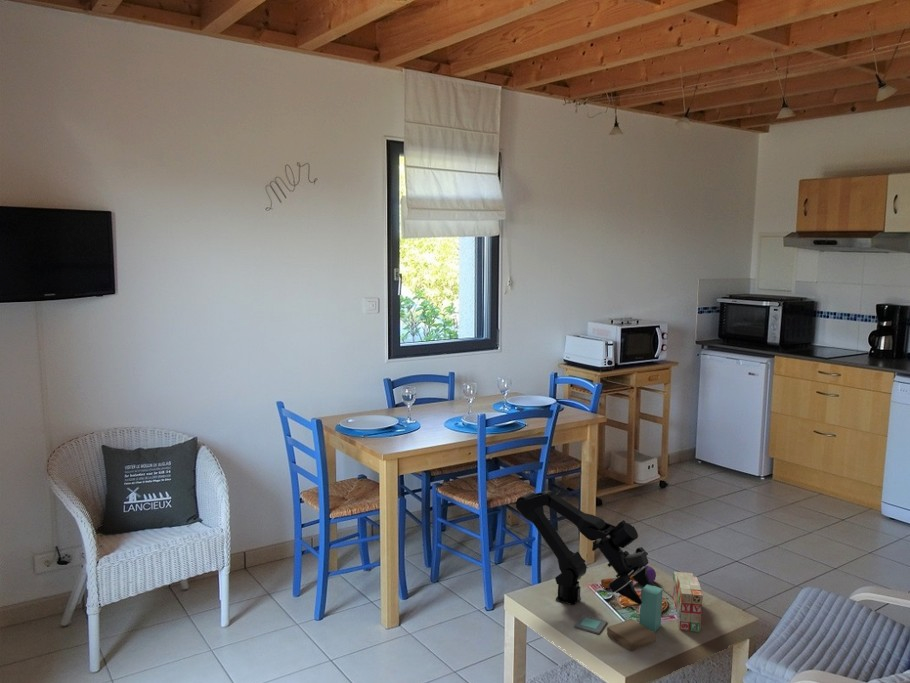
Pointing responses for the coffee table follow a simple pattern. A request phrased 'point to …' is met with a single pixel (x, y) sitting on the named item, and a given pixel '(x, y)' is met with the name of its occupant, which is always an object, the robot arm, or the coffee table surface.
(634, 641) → the walnut slab
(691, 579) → the stack of blocks
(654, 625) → the teal pillar
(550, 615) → the coffee table surface
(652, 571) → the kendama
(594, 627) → the slate tile
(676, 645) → the coffee table surface
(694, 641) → the coffee table surface
